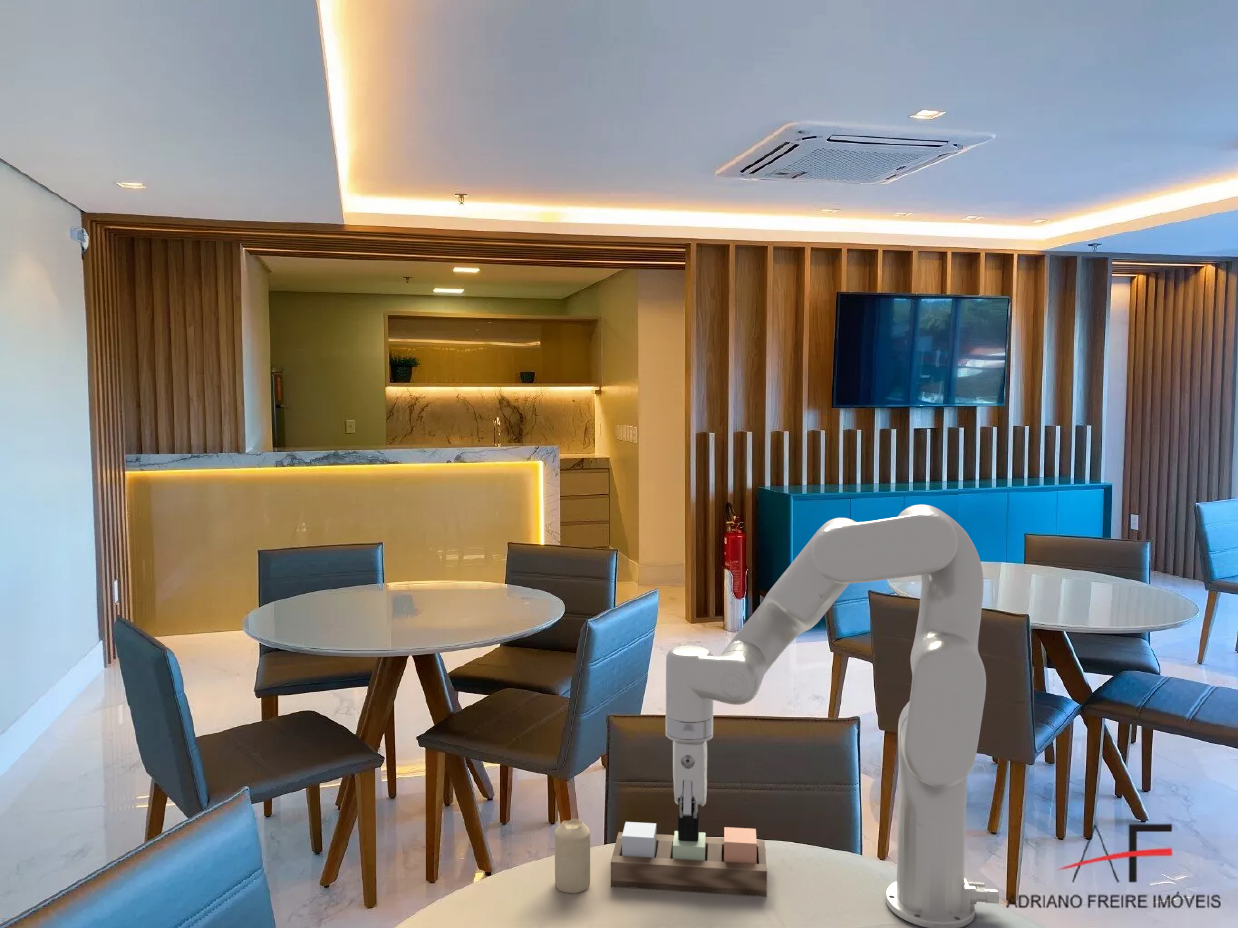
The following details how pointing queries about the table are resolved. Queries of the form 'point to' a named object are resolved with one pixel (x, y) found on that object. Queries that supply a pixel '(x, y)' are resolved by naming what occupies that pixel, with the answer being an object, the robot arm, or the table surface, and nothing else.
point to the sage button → (690, 848)
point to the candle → (572, 856)
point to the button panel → (690, 870)
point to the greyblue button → (639, 839)
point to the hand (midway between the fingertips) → (688, 838)
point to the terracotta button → (740, 845)
